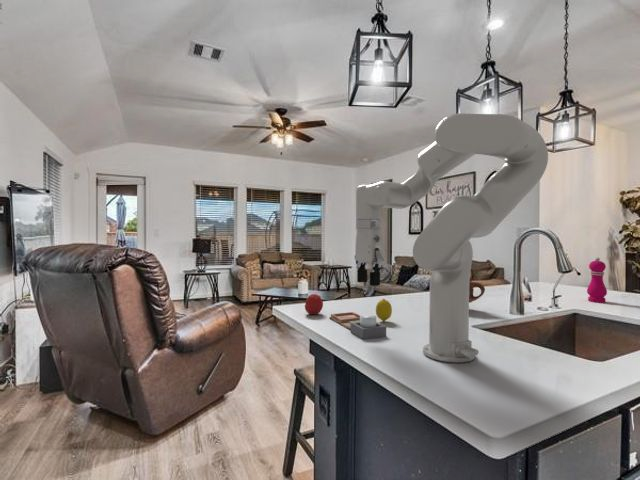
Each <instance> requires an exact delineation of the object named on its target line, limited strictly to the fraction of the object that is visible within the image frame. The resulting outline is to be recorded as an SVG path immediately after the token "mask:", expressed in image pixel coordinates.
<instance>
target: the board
mask: <svg viewBox="0 0 640 480" xmlns="http://www.w3.org/2000/svg"><path fill="white" fill-rule="evenodd" d="M361 315H362V314H357V313H356V312H355V311H354V312H353V311H351V312H338V313H330V316H329V319H330V320H331V321H333V322H335V323H337V324H338V325H340V326H341V327H344V328H346V329H348V330H350V331H351V323H354V322H360V316H361Z"/></svg>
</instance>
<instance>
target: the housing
mask: <svg viewBox="0 0 640 480" xmlns="http://www.w3.org/2000/svg"><path fill="white" fill-rule="evenodd" d="M350 333H351V334H353V335H355V336H356V337H358V338H359V339H361V340H368V339H369V340H370V339H375V338H376V339H377V338H384V337H387V326H386V325H384V324H381V323H379V322H377V321H376V327H368V328H363V327H361V326H360V322H354V323H351V330H350Z"/></svg>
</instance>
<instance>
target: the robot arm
mask: <svg viewBox="0 0 640 480" xmlns="http://www.w3.org/2000/svg"><path fill="white" fill-rule="evenodd" d="M474 155H481V156H482V155H484V156H490V157H495V158H498V159H501V160H504V164H503V166H502V167H501V168H500V169H498V170H497V171H496V172H494V173H493V174H492V175H491V176H490V177H488V179H487V181H486V182H485V183H484V184H483V185H482V187H481V188H479V189H478V190H477V192H476V193H475V194H473V195H472V196H471V195H462V196H460V195H459V196H456V197H453V198H452V199H450V201H448V202H447V203H445V204H444V205H443V206H442V207H441V208H440V210H439V211H437V213H436V214H435V216H433V218H432V219H431V221H429V222H428V224H427V225H426V227H424V229H423V230H422V231H421V232H420V234H419V235H418V237H417V238H416V240H415V241H414V243H413V247H412V257H413V259H414V262H415V264H416V265H417V266H418V267H420V268H421V269H423V270H425V271H429V272H431V273H430V280H429V281H430V282H429V308H428V309H429V313H428V314H429V316H428V317H429V319H428V320H429V321H428V322H429V325H428V327H429V328H428V330H429V333H428V334H429V335H428V339H429V340H428V342H429V343H427V344H425V345H424V346H422V347H423V348H422V353H423V354H424V355H425V357H428V358H431V359H432V360H436V361H440V362H447V363H468V362H471V361H473V360H475V359H476V356H478V355H479V351H480V350H478V349H476V348H473V347H472V340H470V339H469V336H470V335H469V330H470V328H469V325H470V321H469V320H470V317H469V316H470V314H469V313H470V311H469V310H470V309H469V308H470V305H469V304H470V303H469V281H470V277H471V271H472V270H471V269H472V264H473V257H474V256H473V255H474V250H473V246H472V244H471V241H470V240H471V239H474V238H475V239H477V238H484V237H487V236H488V235H490V234H492V232H493V231H494V230H495V229H496V228H497V227H498V226H499V225H500V224H501V223H502V222H503V221H504V220H505V218H506V217H507V216H508V215H510V213H511V212H512V211H513V210H515V209H516V206H518V205H519V203H520V202H521V201H522V200H523V199H524V198H525V197H526V196H527V195H528V194H529V193H530V192H532V190H533V189H534V187H536V186H537V184H538V183H539V182H540V180H541V179H542V177H543V175H544V174H545V172H546V170H547V166H548V162H549V150H548V147H547V144H546V141H545V140H544V138H543V136H542V135H541V134H540V133H539V131H538V130H537V129H536V128H534V127H533V125H531V124H528V123H527V122H525V121H524V120H522V119H520V118H518V117H516V116H513V115H509V114H500V113H499V114H497V113H453V114H450V115H447V116H446V117H444V118H443V119H442V120H441V121H440V122H438V124H437V125H436V128H435V131H434V142H433V143H431V144H430V145H429V146H427V147H426V148H425V149H423V150H422V151H421V152H419V154H418V156H417V159H416V161H417V165H418V168H417V171H416V172H415V173H414V174H412V176H410V177H409V178H408V179H406V180H404V182H401V183H400V182H392V181H386V180H384V181H377V182H375V183H373V184H361V185H358V186H357V188H356V191H355V228H356V229H355V230H356V238H355V255H354V260H355V263H356V273H357V274H356V277H357V279H356V282H357V283H367V282H368V269H367V265H368V264H369V268H370V272H369V286H372V287H374V286H375V287H376V286H380V284H381V272H382V268H383V264H384V262H385V251H384V239H383V233H382V230H381V229H382V214H381V213H382V210H381V209H382V208H384V209H398V210H399V209H401V210H402V209H405V208H409V207H411V206H412V205H414V204H415V203H417V202H418V201H420V200H422V199H423V198H424V197H425V196H427V195H428V194H429V193H430V192H431V190H433V188H434V187H435V186H436V184H437V182H438V180H440V179H441V178H442V177H444V176H445V175H447V174H449V172H451V171H452V170H454V169H456V168H457V167H459V166H460V165H461V164H463V163H464V162H466V161H468V160H469V159H470V158H472V157H473V156H474Z"/></svg>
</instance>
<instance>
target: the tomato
mask: <svg viewBox="0 0 640 480" xmlns="http://www.w3.org/2000/svg"><path fill="white" fill-rule="evenodd" d="M303 302H304V303H305V304H304V309H305V312H306V313H308V314H309V315H313V316H316V315H318V314H319V313H321V311H322V309H323V306H324V300H323V299H322V297H321V295H318V294H317V293H311V294H310V295H308V296H307V298H306V300H303Z"/></svg>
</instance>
